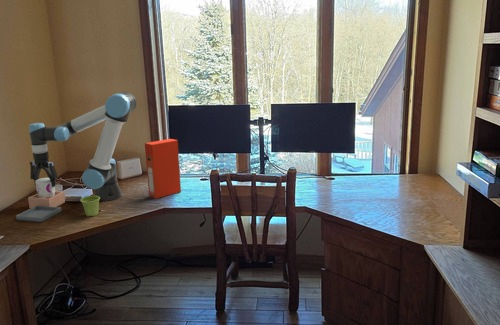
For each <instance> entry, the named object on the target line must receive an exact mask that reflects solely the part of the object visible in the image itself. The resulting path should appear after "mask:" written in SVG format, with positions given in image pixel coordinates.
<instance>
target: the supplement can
mask: <svg viewBox="0 0 500 325" xmlns="http://www.w3.org/2000/svg"><path fill="white" fill-rule="evenodd" d="M49 182H50V179H49V177H48V176H47V177H41V178H40V177H39V179H38V180H37V183H36V184H37V189H36V191H37V190H38V192H37V194H38V197H39V198H46V199H49V198H51V197H53V196H55V192H53V193H51V190H50V183H49Z"/></svg>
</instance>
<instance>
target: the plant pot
mask: <svg viewBox="0 0 500 325" xmlns="http://www.w3.org/2000/svg"><path fill="white" fill-rule="evenodd" d="M99 199H100V197H99V196H95V195H89V196H85V197H82V198H80V202H81V204H82V206H83V209H84V213H85V217H95V216H97V215H98V214H99V202H100V201H99Z"/></svg>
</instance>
